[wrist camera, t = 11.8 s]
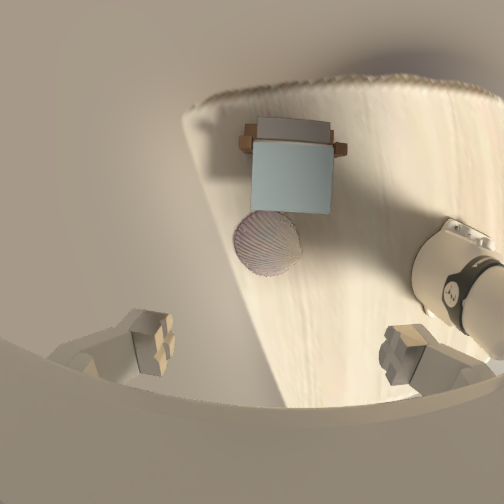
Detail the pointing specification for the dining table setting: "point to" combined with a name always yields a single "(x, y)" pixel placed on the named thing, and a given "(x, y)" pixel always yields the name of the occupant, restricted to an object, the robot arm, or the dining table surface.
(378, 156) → the dining table surface
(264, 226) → the seashell
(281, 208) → the trapdoor
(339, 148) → the frame
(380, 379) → the dining table surface
